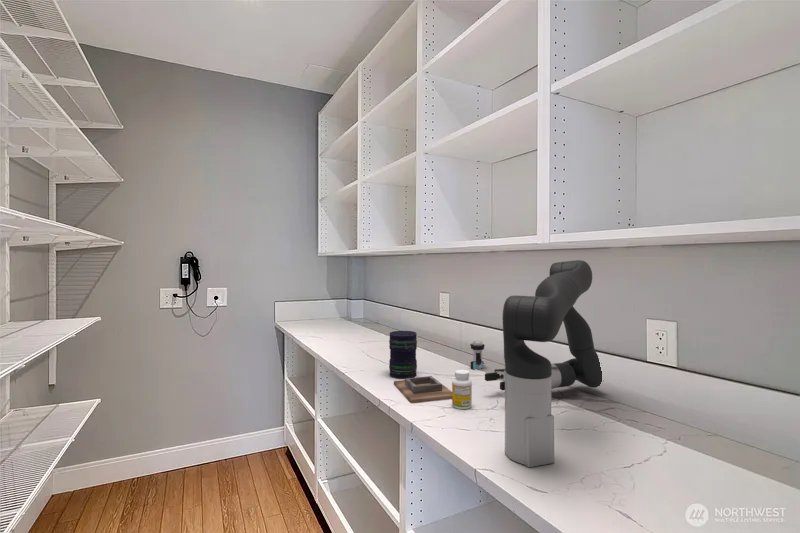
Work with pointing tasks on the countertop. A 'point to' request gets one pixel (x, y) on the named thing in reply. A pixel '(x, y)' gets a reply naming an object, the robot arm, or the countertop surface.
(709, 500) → the countertop surface
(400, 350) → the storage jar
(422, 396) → the dock board
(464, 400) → the supplement bottle
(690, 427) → the countertop surface
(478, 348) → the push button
